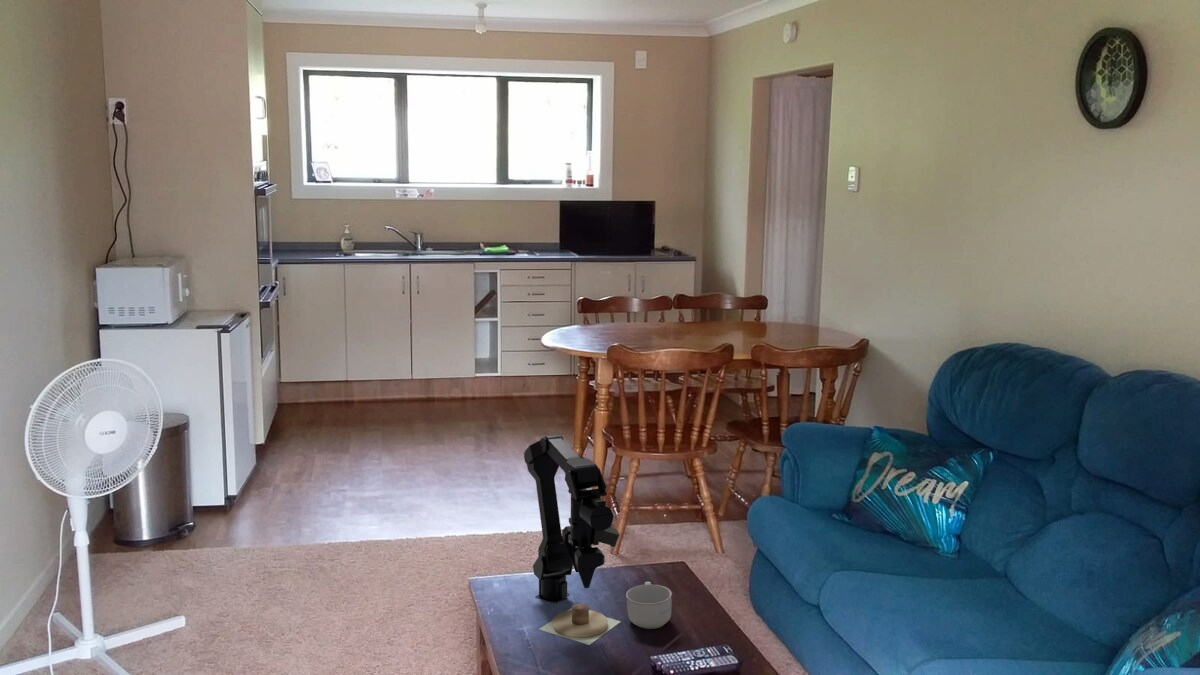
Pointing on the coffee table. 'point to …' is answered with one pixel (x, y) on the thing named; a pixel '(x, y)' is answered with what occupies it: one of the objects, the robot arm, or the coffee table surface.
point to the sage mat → (587, 641)
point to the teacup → (649, 605)
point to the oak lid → (580, 622)
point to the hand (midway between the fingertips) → (582, 579)
